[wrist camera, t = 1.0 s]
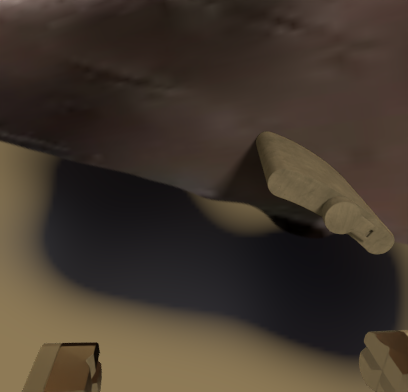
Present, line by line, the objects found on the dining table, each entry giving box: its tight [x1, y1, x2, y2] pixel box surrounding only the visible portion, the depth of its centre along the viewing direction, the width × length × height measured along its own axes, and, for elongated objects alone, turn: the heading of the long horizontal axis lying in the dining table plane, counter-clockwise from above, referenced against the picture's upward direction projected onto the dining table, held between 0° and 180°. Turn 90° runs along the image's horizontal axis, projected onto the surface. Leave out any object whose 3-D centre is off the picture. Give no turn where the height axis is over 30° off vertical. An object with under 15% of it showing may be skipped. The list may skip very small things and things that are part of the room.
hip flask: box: [256, 132, 394, 254], centre depth 45 cm, size 16×4×20 cm, turn 59°
